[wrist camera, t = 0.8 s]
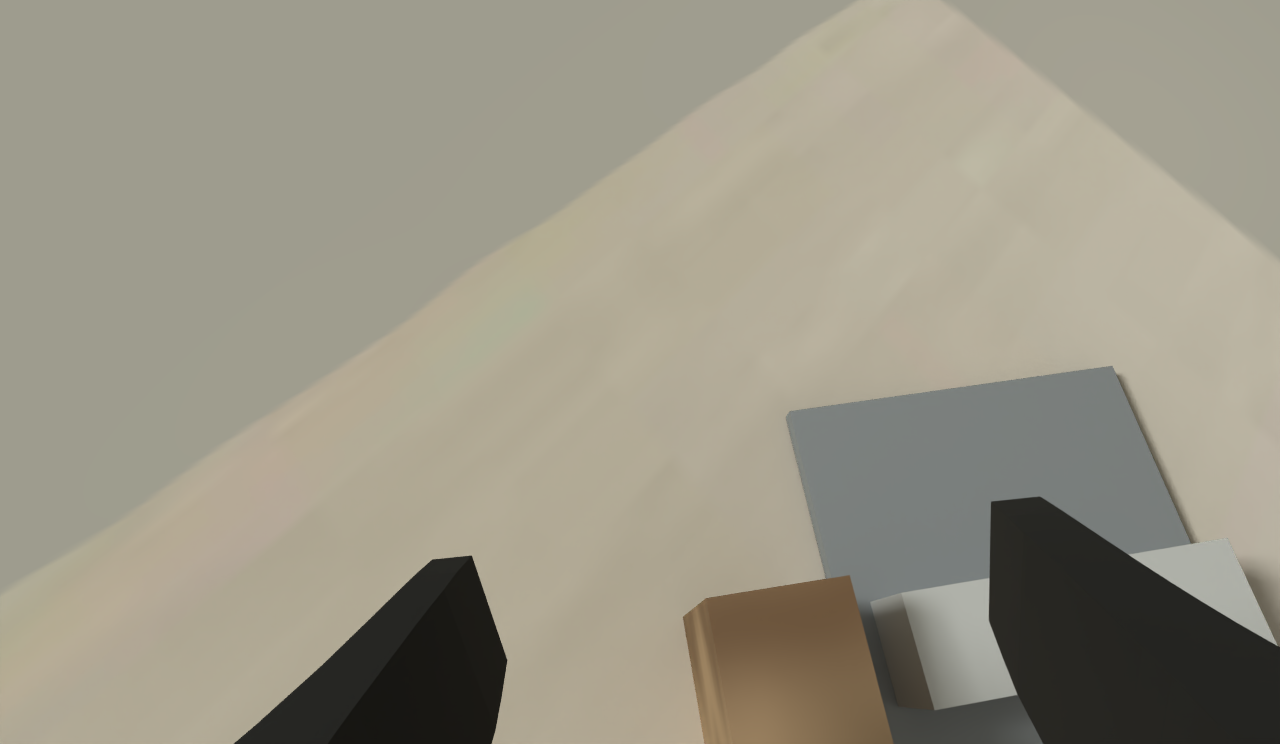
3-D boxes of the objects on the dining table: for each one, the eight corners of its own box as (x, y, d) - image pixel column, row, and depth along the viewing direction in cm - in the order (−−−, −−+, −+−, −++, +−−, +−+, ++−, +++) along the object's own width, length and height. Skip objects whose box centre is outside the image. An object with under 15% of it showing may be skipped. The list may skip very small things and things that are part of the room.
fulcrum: (1326, 886, 21) (1445, 921, 18) (925, 975, 19) (981, 1029, 17) (1101, 372, 27) (1163, 334, 24) (785, 417, 26) (809, 382, 23)
